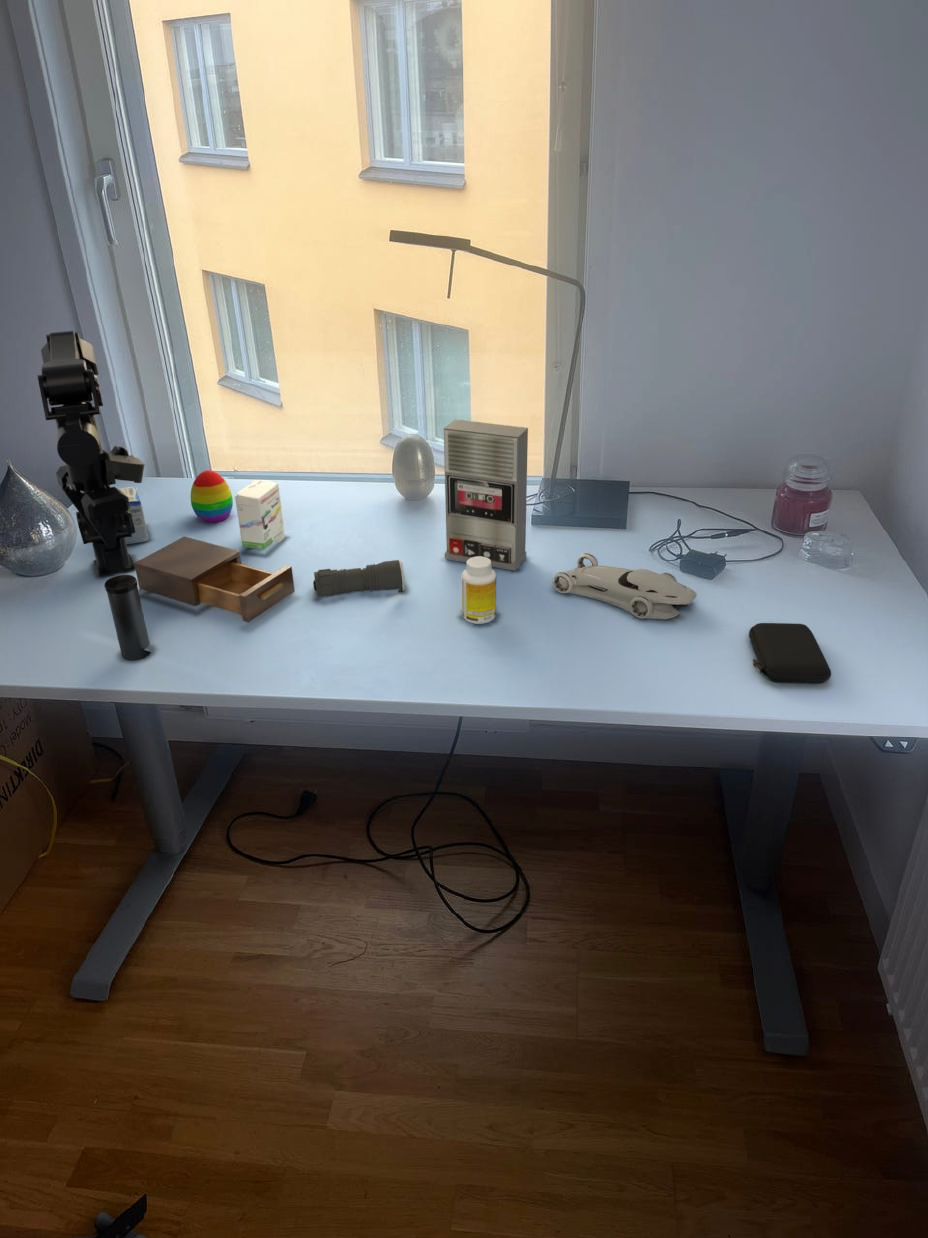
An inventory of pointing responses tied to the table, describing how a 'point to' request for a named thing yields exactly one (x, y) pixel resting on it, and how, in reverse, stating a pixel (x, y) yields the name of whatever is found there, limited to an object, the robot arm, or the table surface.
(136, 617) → the canister
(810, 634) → the carrying case
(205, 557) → the drawer unit
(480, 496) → the cassette tape recorder
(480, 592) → the supplement bottle
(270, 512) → the ink box
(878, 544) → the table surface
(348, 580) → the flashlight
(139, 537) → the medicine box
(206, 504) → the decorative egg
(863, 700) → the table surface
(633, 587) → the car model
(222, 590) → the drawer
